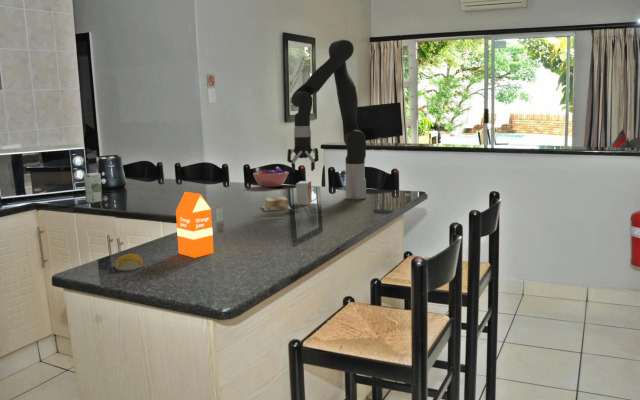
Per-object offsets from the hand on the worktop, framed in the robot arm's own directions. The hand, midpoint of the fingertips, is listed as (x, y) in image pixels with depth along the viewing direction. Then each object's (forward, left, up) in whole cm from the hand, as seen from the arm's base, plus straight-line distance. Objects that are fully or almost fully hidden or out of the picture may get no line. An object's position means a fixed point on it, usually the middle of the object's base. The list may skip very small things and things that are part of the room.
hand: (303, 171), depth 270 cm
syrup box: (+99, -41, -16) cm, 108 cm away
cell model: (+8, -59, -16) cm, 62 cm away
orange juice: (+50, +74, -16) cm, 91 cm away
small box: (0, 0, -16) cm, 16 cm away
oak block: (+14, +7, -15) cm, 22 cm away
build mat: (+14, +7, -16) cm, 22 cm away
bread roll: (+70, +84, -16) cm, 111 cm away
